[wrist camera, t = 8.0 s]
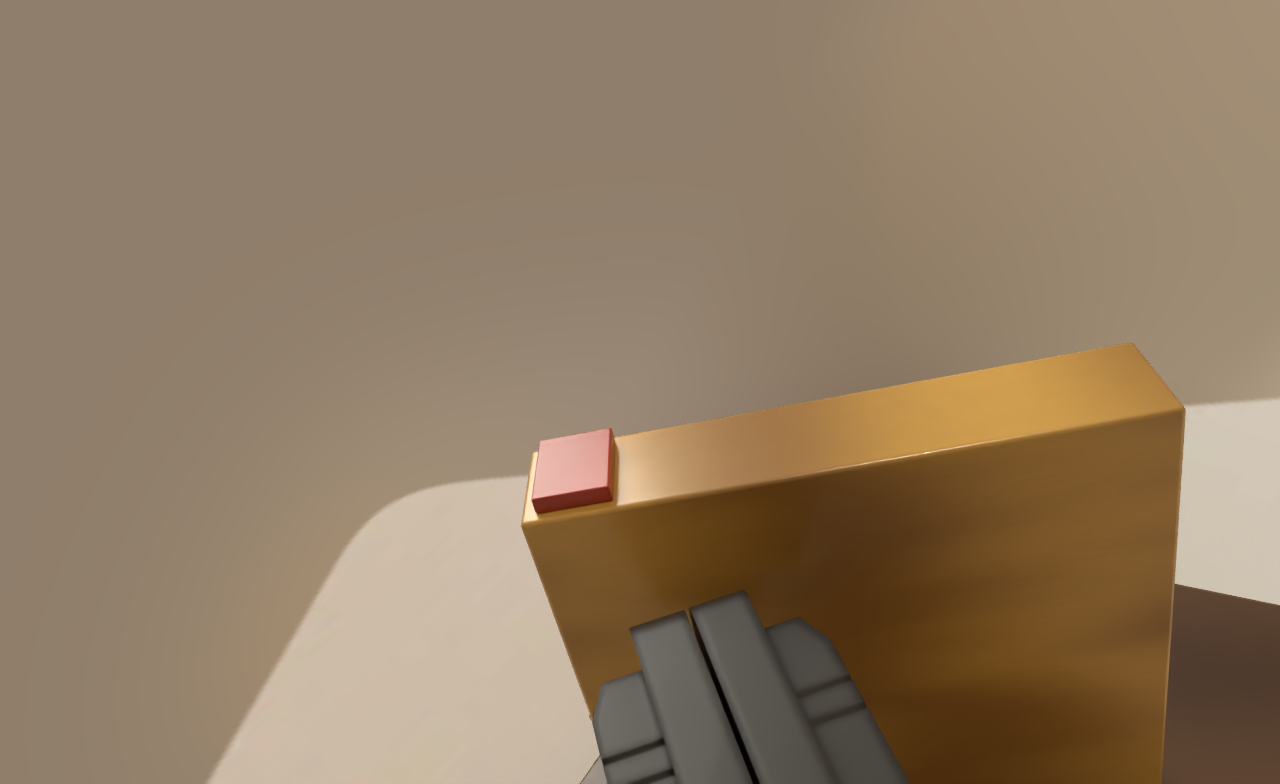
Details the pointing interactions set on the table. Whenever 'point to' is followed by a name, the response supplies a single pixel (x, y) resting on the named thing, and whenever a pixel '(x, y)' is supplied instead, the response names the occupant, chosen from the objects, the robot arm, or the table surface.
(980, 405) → the wooden block
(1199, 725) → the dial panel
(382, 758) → the table surface
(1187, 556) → the table surface
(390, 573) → the table surface
